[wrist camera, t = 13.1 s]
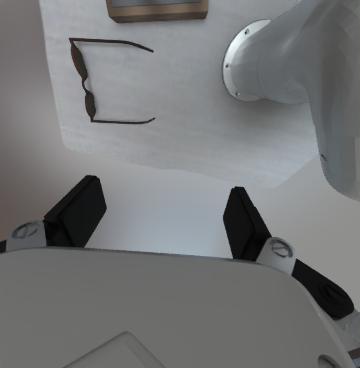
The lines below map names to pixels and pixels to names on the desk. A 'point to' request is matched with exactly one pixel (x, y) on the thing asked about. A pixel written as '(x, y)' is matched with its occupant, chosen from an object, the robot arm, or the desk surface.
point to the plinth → (156, 10)
